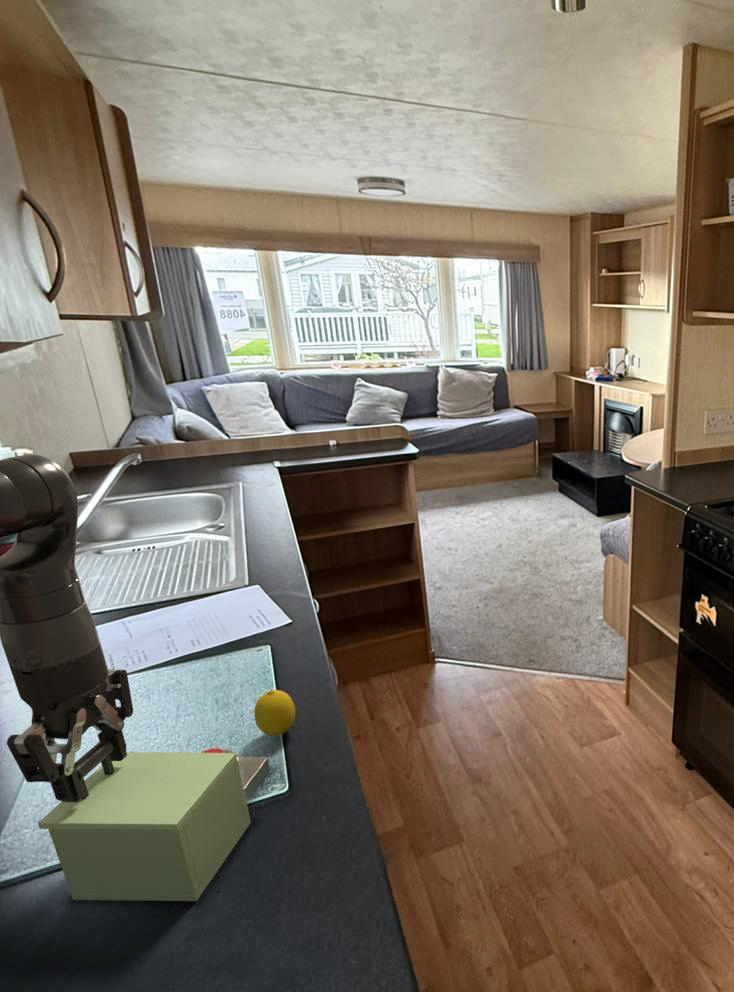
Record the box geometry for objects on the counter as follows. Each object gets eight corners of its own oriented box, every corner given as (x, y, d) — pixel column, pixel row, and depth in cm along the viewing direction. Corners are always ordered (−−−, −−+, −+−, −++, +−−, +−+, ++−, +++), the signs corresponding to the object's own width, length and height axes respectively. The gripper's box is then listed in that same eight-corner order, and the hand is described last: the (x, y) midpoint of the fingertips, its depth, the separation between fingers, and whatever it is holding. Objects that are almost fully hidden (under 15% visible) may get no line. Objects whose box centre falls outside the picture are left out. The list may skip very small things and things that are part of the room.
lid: (39, 829, 69) (25, 790, 67) (117, 757, 80) (107, 722, 78) (177, 830, 69) (167, 792, 67) (237, 758, 80) (229, 723, 78)
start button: (190, 776, 86) (187, 765, 85) (205, 758, 89) (203, 747, 89) (217, 776, 86) (214, 765, 85) (231, 758, 89) (229, 748, 89)
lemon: (261, 751, 97) (252, 705, 94) (257, 731, 101) (248, 687, 98) (301, 739, 99) (293, 694, 97) (296, 720, 104) (288, 677, 101)
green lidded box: (72, 900, 72) (47, 829, 69) (143, 821, 83) (125, 757, 80) (196, 901, 72) (177, 830, 69) (251, 822, 83) (237, 758, 80)
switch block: (157, 809, 85) (150, 784, 84) (193, 769, 93) (187, 745, 91) (241, 810, 85) (235, 785, 84) (270, 769, 93) (265, 746, 91)
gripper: (71, 617, 75) (108, 739, 80) (-46, 685, 61) (7, 825, 67) (136, 618, 75) (168, 739, 80) (33, 685, 61) (80, 826, 67)
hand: (95, 778), depth 74 cm, fingers open, 6 cm apart
